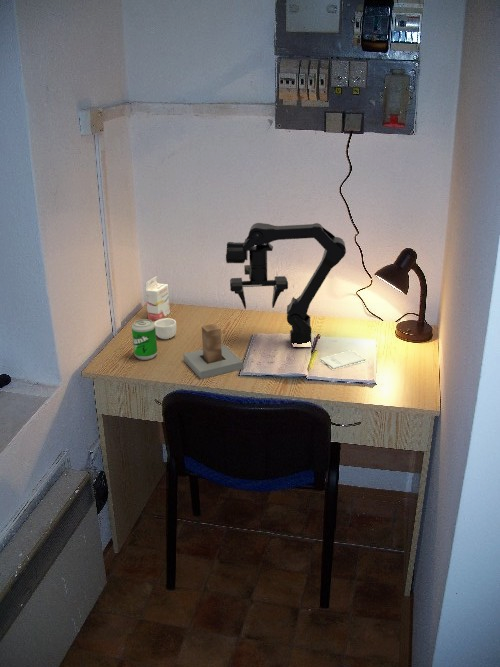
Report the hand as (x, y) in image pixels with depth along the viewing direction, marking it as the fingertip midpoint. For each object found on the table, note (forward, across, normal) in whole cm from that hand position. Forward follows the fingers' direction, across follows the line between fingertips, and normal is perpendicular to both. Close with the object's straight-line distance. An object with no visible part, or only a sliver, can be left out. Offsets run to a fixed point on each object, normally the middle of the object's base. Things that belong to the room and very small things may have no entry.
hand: (259, 308), depth 218 cm
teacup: (+13, +32, -10) cm, 36 cm away
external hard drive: (+14, -25, +16) cm, 33 cm away
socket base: (+13, +16, +14) cm, 25 cm away
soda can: (+13, +38, +6) cm, 41 cm away
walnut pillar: (+13, +16, +14) cm, 25 cm away
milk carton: (+13, +36, -28) cm, 47 cm away
